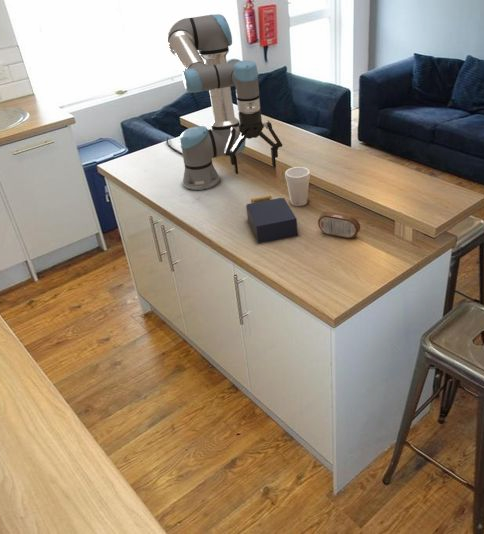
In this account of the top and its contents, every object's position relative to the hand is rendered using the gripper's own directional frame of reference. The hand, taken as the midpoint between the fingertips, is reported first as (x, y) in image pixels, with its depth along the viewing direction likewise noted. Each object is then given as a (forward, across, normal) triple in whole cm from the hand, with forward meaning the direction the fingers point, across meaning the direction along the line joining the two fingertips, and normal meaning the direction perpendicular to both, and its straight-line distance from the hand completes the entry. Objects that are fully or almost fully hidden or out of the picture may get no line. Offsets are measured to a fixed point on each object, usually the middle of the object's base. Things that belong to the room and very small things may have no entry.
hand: (255, 169), depth 199 cm
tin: (+22, +24, -19) cm, 38 cm away
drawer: (+21, +3, 0) cm, 21 cm away
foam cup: (+22, +18, +10) cm, 30 cm away
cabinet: (+22, +3, -6) cm, 23 cm away
